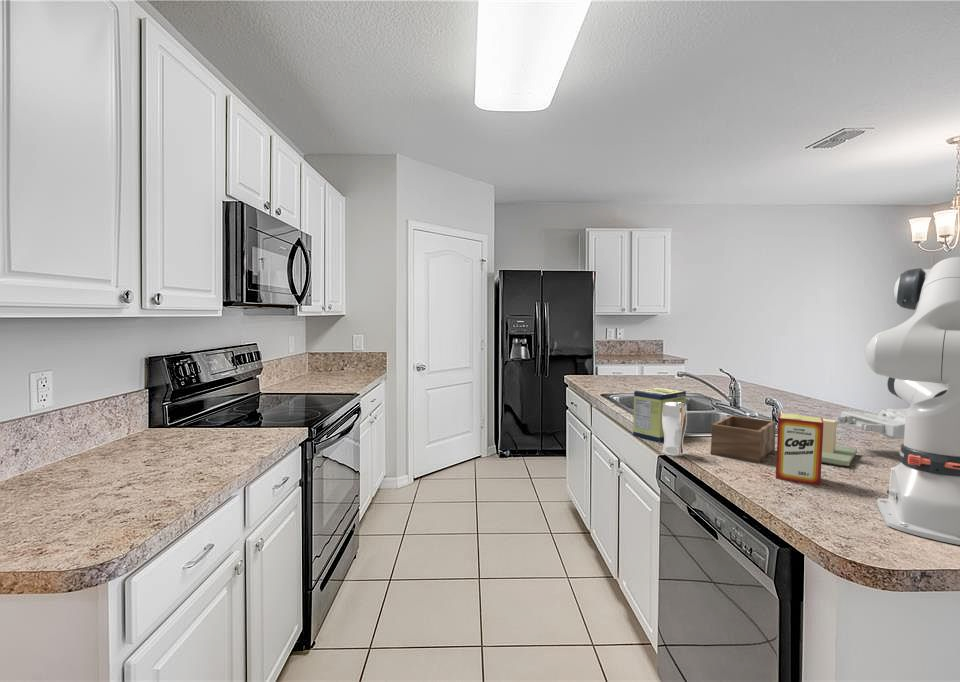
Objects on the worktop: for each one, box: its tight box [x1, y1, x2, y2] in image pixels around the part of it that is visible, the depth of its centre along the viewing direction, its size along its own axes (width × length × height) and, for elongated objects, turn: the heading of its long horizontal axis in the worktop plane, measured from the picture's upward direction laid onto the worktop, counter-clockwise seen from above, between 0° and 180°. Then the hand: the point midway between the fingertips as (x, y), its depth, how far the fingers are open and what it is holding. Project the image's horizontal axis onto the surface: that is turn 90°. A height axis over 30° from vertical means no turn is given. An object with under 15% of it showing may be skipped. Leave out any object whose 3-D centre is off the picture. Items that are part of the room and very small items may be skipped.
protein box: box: [632, 386, 687, 443], centre depth 171 cm, size 10×16×16 cm
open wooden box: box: [710, 414, 777, 464], centre depth 152 cm, size 18×13×9 cm
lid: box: [821, 417, 858, 467], centre depth 148 cm, size 18×13×11 cm
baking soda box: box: [775, 413, 824, 486], centre depth 128 cm, size 10×6×16 cm
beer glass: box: [662, 402, 688, 457], centre depth 150 cm, size 7×7×15 cm
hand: (850, 423), depth 148 cm, fingers open, 8 cm apart
